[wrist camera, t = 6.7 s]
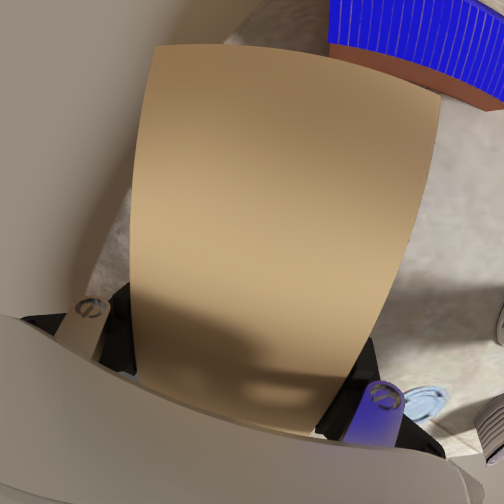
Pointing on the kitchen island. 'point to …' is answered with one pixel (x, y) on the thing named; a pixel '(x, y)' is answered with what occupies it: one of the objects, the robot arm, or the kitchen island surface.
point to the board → (268, 224)
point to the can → (491, 430)
